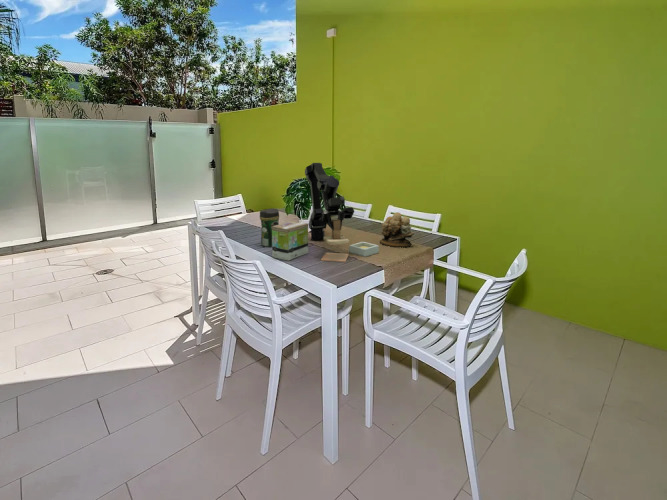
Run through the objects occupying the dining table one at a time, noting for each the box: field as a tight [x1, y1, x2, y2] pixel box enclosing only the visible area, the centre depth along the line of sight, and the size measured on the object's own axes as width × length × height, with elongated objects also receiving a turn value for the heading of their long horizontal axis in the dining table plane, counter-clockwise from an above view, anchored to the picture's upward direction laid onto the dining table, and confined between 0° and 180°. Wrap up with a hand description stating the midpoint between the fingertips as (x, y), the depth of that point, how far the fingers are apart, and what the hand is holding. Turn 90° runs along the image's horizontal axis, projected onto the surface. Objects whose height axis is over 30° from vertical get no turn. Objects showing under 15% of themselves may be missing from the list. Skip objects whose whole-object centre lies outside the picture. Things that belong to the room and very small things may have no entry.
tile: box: [320, 252, 350, 263], centre depth 172 cm, size 11×11×1 cm
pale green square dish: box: [348, 241, 380, 258], centre depth 179 cm, size 10×10×4 cm
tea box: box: [271, 220, 309, 262], centre depth 173 cm, size 15×10×15 cm
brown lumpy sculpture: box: [379, 212, 415, 249], centre depth 191 cm, size 18×12×17 cm, turn 60°
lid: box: [323, 219, 350, 246], centre depth 168 cm, size 9×9×10 cm
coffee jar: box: [259, 207, 280, 248], centre depth 189 cm, size 10×8×19 cm
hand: (337, 229), depth 167 cm, fingers closed on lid, 3 cm apart
